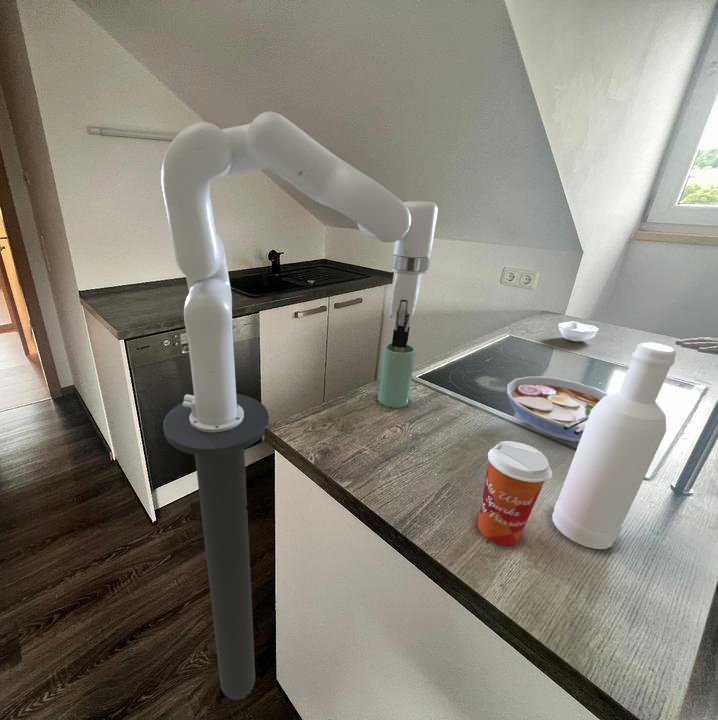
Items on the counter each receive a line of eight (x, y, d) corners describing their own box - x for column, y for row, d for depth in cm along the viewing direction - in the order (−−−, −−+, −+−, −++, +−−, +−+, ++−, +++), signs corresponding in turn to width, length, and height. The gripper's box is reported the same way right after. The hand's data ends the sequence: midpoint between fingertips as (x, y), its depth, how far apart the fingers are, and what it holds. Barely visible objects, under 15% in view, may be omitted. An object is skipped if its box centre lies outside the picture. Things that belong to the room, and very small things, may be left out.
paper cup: (462, 530, 59) (481, 455, 53) (481, 503, 64) (500, 432, 58) (518, 562, 54) (546, 483, 48) (534, 530, 59) (561, 455, 53)
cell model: (602, 345, 130) (609, 326, 128) (566, 344, 131) (572, 325, 128) (582, 335, 140) (588, 317, 137) (548, 334, 140) (553, 316, 137)
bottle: (617, 560, 54) (712, 365, 42) (551, 535, 58) (621, 350, 46) (610, 522, 60) (691, 343, 48) (551, 502, 64) (612, 331, 52)
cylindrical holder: (375, 404, 93) (381, 351, 88) (380, 391, 100) (386, 340, 94) (406, 410, 91) (414, 355, 85) (409, 396, 97) (417, 344, 92)
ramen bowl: (537, 394, 99) (546, 364, 95) (648, 440, 80) (663, 406, 77) (473, 419, 87) (481, 387, 84) (585, 480, 69) (600, 442, 66)
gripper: (396, 257, 90) (387, 332, 97) (387, 268, 76) (377, 354, 84) (430, 259, 88) (418, 336, 95) (427, 271, 74) (413, 360, 81)
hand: (399, 344), depth 89 cm, fingers closed
